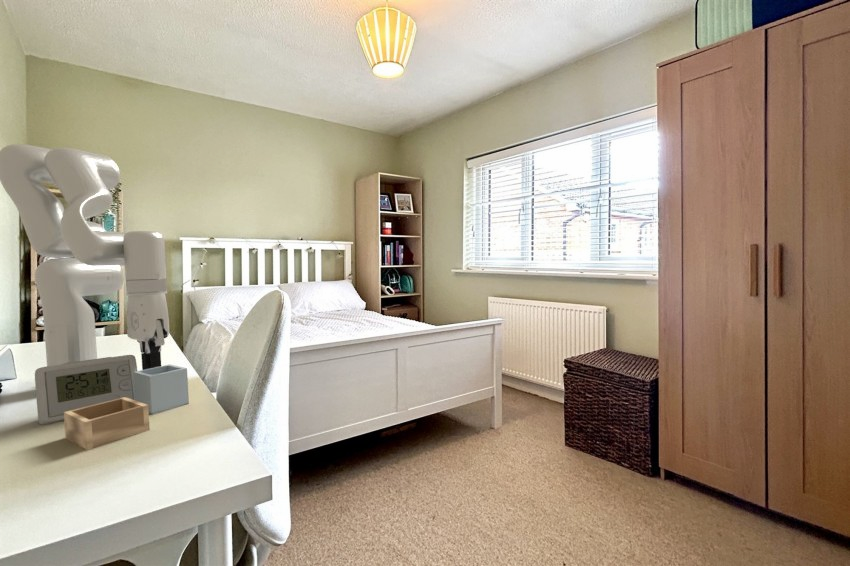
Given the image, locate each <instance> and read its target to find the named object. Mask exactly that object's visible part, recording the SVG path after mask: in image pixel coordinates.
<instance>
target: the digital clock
mask: <svg viewBox="0 0 850 566" xmlns="http://www.w3.org/2000/svg"><path fill="white" fill-rule="evenodd" d="M137 365H138V364H137V359H136V356H135V355H133V354H125V355H119V356H118V355H117V356H108V357H107V356H106V357H101V358H97V359H92V360H85V361H78V362H71V363H64V364H61V365H54V366H47V365H46V366H42V367H39V368H36V370H35V371H34V383H35V396H36V397H35V398H36V408H37V418H38V419H37V420H38V423H39V425H49V424H53V423H57V422H63V421H64V412H67V411H71V410H75V409H79V408H83V407H87V406H91V405H95V404H99V403H103V402H107V401H111V400H115V399H119V398H123V397H126V398H129V399H132V400H135V394H134V378H133V372H136V371H138V366H137Z"/></svg>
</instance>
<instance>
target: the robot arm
mask: <svg viewBox="0 0 850 566" xmlns="http://www.w3.org/2000/svg"><path fill="white" fill-rule="evenodd" d="M120 180H121V171H120V168H119V166H118V164H117V162H116V161H114V159H112V158H111V157H110V156H107V155H105V154H101V153H95V152H91V151H86V150H82V149H77V148H74V147H73V148H72V147H57V148H52V149H51V148H48V147H47V148H46V147H42V146H37V145H32V144H31V145H30V144H19V143H17V144H16V143H15V144H9V145H6V146H3V147H2V148H1V149H0V184H1V185H2V187H3V189H4V190H5V192H6V194H7V195H8V196H9V198H10V199H11V201H12V202H13V203H14V205H15V207H16V209H17V211H18V214H19V216H20V217H19V218H20V220H21V222H22V225H23V228H24V230H25V234H26V236H27V238H28V241H29V243H30V245H31V248H32V249H33V251H34V252H35V253H36V254H37V255H39V256H42V257H47V258H49V259H47V260H44V261H43V262H40V263H39V264H38V266H36V268H35V271H34V282H35V285H36V289H37V291H38V294H39V298H40V302H41V309H42V316H43V329H44V342H45V343H44V344H45V356H46V359H45V360H46V367H47V366H54V365H61V364H64V363H71V362H78V361H85V360H92V359H98V352H97V350H98V349H97V335H96V333H97V332H96V323H95V322H96V319H95V314H94V310H93V309H92V307H91V306H90V304H88V302H87V301H86V300H85V299H84V298H83V297H87V296H88V297H89V296H100V295H111V294H113V293H117V292H118V291H119V290H121V288H123V285H124V280H125V289H126V296H127V302H126V330H127V331H126V333H127V338H129V339H131V340H134V341H136V342H137V343H138V344H139V349H140V350H139V351H140V353H141V354H140V355H141V367H142V368H141V370H145V369H150V368H155V367H160V366H162V358H161V357H162V355H161V353H162V346H164V345H165V339H167V338H168V337H169V335H170V318H169V310H168V303H167V298H166V297H167V296H166V294H168V281H167V264H166V261H167V260H166V248H165V245H166V244H165V237H164V235H163V234H162V232H158V231H151V230H134V231H133V230H132V231H127V232H123V231H109V230H108V231H107V230H106V229H105V227H104V226H102V225H101V224H99V223H96V222H94V221H89V220H86V219H89V218H93V217H95V216H98V215H101V214H103V213H104V212H106V211H107V210H109V209H110V207H111V206H112V204H113V195H112V193H111V191H110V190H112V189H114V188H116V187H117V186H118V184H119V183H120ZM42 183H44V184H45V183H46V184H52V185H55V186H56V187H57V189H58V190H59V192H60V193H61V195H62V197H63V198H64V200H65V202H66V203H67V204H68V205H66V207H64V205H63V203H62V202H61V200H60V199H59V198H58V197H57V196H56V195H55V194H54V193H53V192H52V191H50V189H48V188H46V186H44V185H43V184H42ZM50 258H51V259H50ZM122 266H124V271H123V268H122ZM124 273H125V275H124ZM124 277H125V279H124Z"/></svg>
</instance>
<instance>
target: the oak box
mask: <svg viewBox="0 0 850 566" xmlns="http://www.w3.org/2000/svg"><path fill="white" fill-rule="evenodd" d="M63 421H64V431H65V432H64V433H65V439H66V440H69V441H70V442H72V443H74V444H75V445H78V446H79V447H81V448H82V449H85V451H88V450H89V451H90V450H92V449H94V448H98V447H101V446H103V445H107V444H111V443H114V442H117V441H120V440H123V439H127V438H130V437H133V436H136V435H139V434H142V433H145V432H147V431H150V428H151V427H150V414H149V410H148V405H147V404H144V403H141V402H138V401H135V400H132V399H129V398H126V397H123V398H119V399H115V400H111V401H107V402H103V403H99V404H95V405H91V406H87V407H83V408H79V409H75V410H71V411H67V412H64V420H63Z"/></svg>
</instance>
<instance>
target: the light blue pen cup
mask: <svg viewBox="0 0 850 566" xmlns="http://www.w3.org/2000/svg"><path fill="white" fill-rule="evenodd" d="M133 378H134V394H135V401H138V402H141V403H144V404H147V405H148V410H149V415H155V414H156V415H157V414H159V413H162V412H166V411H169V410H170V411H171V410H173V409H175V408H179V407H183V406H186V405H190V401H189V396H190V395H189V382H188V381H189V380H188V368H187V367H183V366H178V365H173V364H165V365H161V366H160V367H155V368H150V369H145V370H142V369H141V370H140V369H139V370H137V371H136V372H133Z"/></svg>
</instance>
